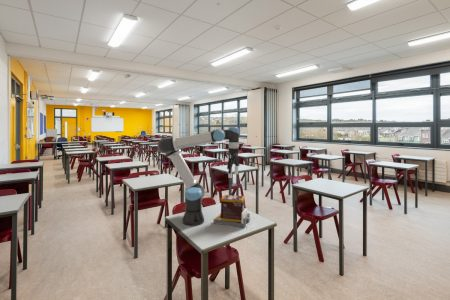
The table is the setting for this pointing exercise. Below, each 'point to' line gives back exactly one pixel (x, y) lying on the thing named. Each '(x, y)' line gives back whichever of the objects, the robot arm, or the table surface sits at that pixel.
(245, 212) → the pusher
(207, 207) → the table surface
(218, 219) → the grey tray
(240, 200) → the supplement box
